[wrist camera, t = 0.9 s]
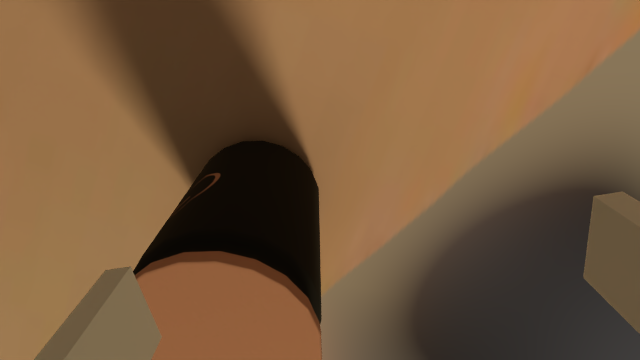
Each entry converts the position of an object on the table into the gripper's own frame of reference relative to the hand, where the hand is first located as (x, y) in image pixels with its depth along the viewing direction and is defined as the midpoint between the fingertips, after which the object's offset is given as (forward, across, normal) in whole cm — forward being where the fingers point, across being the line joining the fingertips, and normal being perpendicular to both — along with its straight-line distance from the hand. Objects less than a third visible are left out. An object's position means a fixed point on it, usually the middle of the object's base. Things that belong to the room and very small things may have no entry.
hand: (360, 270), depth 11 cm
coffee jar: (+23, -8, -7) cm, 25 cm away
